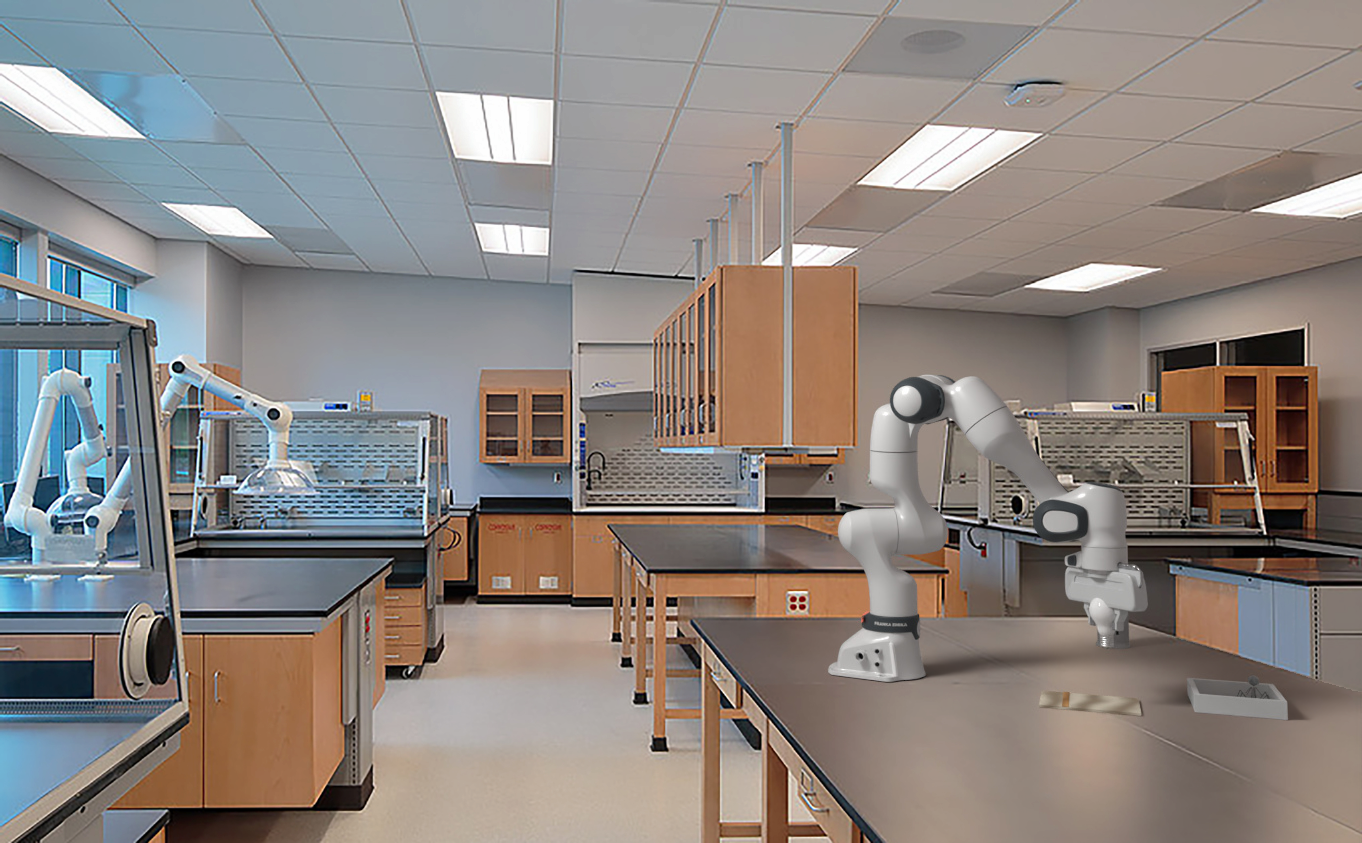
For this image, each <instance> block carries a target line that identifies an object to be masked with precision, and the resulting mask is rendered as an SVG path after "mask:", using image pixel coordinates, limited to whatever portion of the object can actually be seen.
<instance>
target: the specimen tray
mask: <svg viewBox="0 0 1362 843" xmlns="http://www.w3.org/2000/svg"><path fill="white" fill-rule="evenodd" d="M1186 681H1187V682H1186V684H1187V687H1186V688H1187V691H1186V692H1187V697H1188V699H1189V701H1190V703H1191V706H1192V708H1193V711H1194V713H1197V714H1198V713H1199V714H1210V715H1225V716H1235V717H1245V718H1246V717H1248V718H1258V719H1260V718H1261V719H1273V720H1281V721H1282V720H1285V721H1288V720H1289V718H1288V717H1289V714H1288V701H1287V699H1286V698H1285V697H1284V696H1283V694H1282V693H1281V692H1280V691H1279V690H1278V688H1277V687H1276V686H1275V684H1274V683H1262V682H1259V684H1257V685H1255V686H1254V687H1256V688H1257V689H1258V690H1257V689H1256V698H1251V690H1250V689H1249V688H1250V687H1253V686H1252V685H1251V684H1249V682H1248V681H1238V680H1237V681H1236V680H1235V681H1234V680H1222V679H1208V678H1197V677H1195V678H1194V677H1187V678H1186ZM1248 689H1249V690H1250V691H1249V690H1248ZM1240 690H1241V691H1242V692H1243V694H1244V695H1245V696H1246V697H1247V698H1246V697H1245V696H1244V695H1243V694H1242V695H1241V693H1242V692H1241V691H1240ZM1239 691H1240V692H1239ZM1248 691H1249V693H1248ZM1259 692H1260V693H1261V694H1260V693H1259ZM1264 692H1266V693H1264ZM1238 693H1239V694H1238ZM1247 693H1248V694H1247ZM1263 694H1264V695H1263ZM1266 694H1267V696H1269V697H1268V698H1267V696H1266ZM1237 695H1238V696H1237ZM1262 695H1263V696H1262ZM1240 696H1241V697H1240ZM1261 696H1262V698H1261ZM1265 696H1266V697H1265ZM1264 697H1265V698H1264ZM1260 698H1261V699H1260ZM1263 698H1264V699H1263ZM1269 698H1270V699H1269Z"/></svg>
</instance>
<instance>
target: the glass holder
mask: <svg viewBox="0 0 1362 843" xmlns="http://www.w3.org/2000/svg"><path fill="white" fill-rule="evenodd" d="M1129 612H1130V611H1128V615H1127V617H1126V619H1125V621H1124V630H1123V631H1115V633H1114V638H1113V639H1114V640H1113V641H1114V642H1113V643H1114V644H1113V645H1114V646H1113V647H1112V648H1111V649H1115V650H1116V649H1118V650H1119V649H1121V650H1122V649H1130V648H1132V645H1131V643H1130V626H1129V625H1130V621H1129V620H1130V619H1129V617H1130V616H1129V614H1130V613H1129ZM1096 630H1097V636H1096V637H1097V638H1096V639H1097V640H1096V642H1095V646H1097V647H1101V648H1103V647H1102V646H1100V635H1099V632H1098V629H1097V628H1096Z"/></svg>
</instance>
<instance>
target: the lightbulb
mask: <svg viewBox="0 0 1362 843" xmlns="http://www.w3.org/2000/svg"><path fill="white" fill-rule="evenodd" d="M1089 613H1090V616H1091V618H1092V619H1093V621H1094V622H1095V624H1096V626H1095V627H1097V628H1096V630H1097V629H1098V632H1099V635H1100V646H1102V647H1101V648H1103V649H1104V650H1111V649H1113V648H1112V647H1113V646H1114V645H1113V644H1114V643H1113V642H1114V641H1113V640H1114V639H1113V638H1114V633H1115V630H1112V622H1111V621H1115V618H1116V616H1117V614H1115V608H1110V607H1107V606H1106V604H1105V603H1104V602H1103V600H1101V599H1100V598H1095V599H1093V600H1092V601H1091V603H1090V605H1089ZM1100 646H1099V647H1100Z"/></svg>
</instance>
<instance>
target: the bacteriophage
mask: <svg viewBox="0 0 1362 843" xmlns="http://www.w3.org/2000/svg"><path fill="white" fill-rule="evenodd" d="M1247 680H1248V681H1247V682H1249V684H1251V685H1252V686H1253V687H1250V688H1249V689H1250V690H1251V698H1256V689H1257V688H1256V687H1254V686H1255V685H1257V684H1259V683H1260V681H1259V677H1258V676H1256V675H1254V674H1252V675H1250V676H1248V677H1247ZM1249 689H1248V690H1249ZM1250 690H1249V691H1250ZM1257 690H1258V689H1257ZM1240 691H1241V690H1240ZM1240 691H1239V692H1240ZM1249 691H1248V693H1249ZM1241 692H1242V691H1241ZM1248 693H1247V694H1248ZM1259 693H1260V692H1259ZM1264 693H1266V692H1264ZM1238 694H1239V693H1238ZM1242 694H1243V692H1242V693H1241V695H1242ZM1260 694H1261V693H1260ZM1243 695H1244V694H1243ZM1263 695H1264V694H1263ZM1263 695H1262V696H1263ZM1237 696H1238V695H1237ZM1244 696H1245V695H1244ZM1262 696H1261V698H1262ZM1266 696H1267V694H1266ZM1266 696H1265V697H1266ZM1240 697H1241V696H1240ZM1245 697H1246V696H1245ZM1265 697H1264V698H1265ZM1268 697H1269V696H1267V698H1268ZM1246 698H1247V697H1246ZM1261 698H1260V699H1261ZM1264 698H1263V699H1264ZM1269 699H1270V698H1269Z"/></svg>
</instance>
